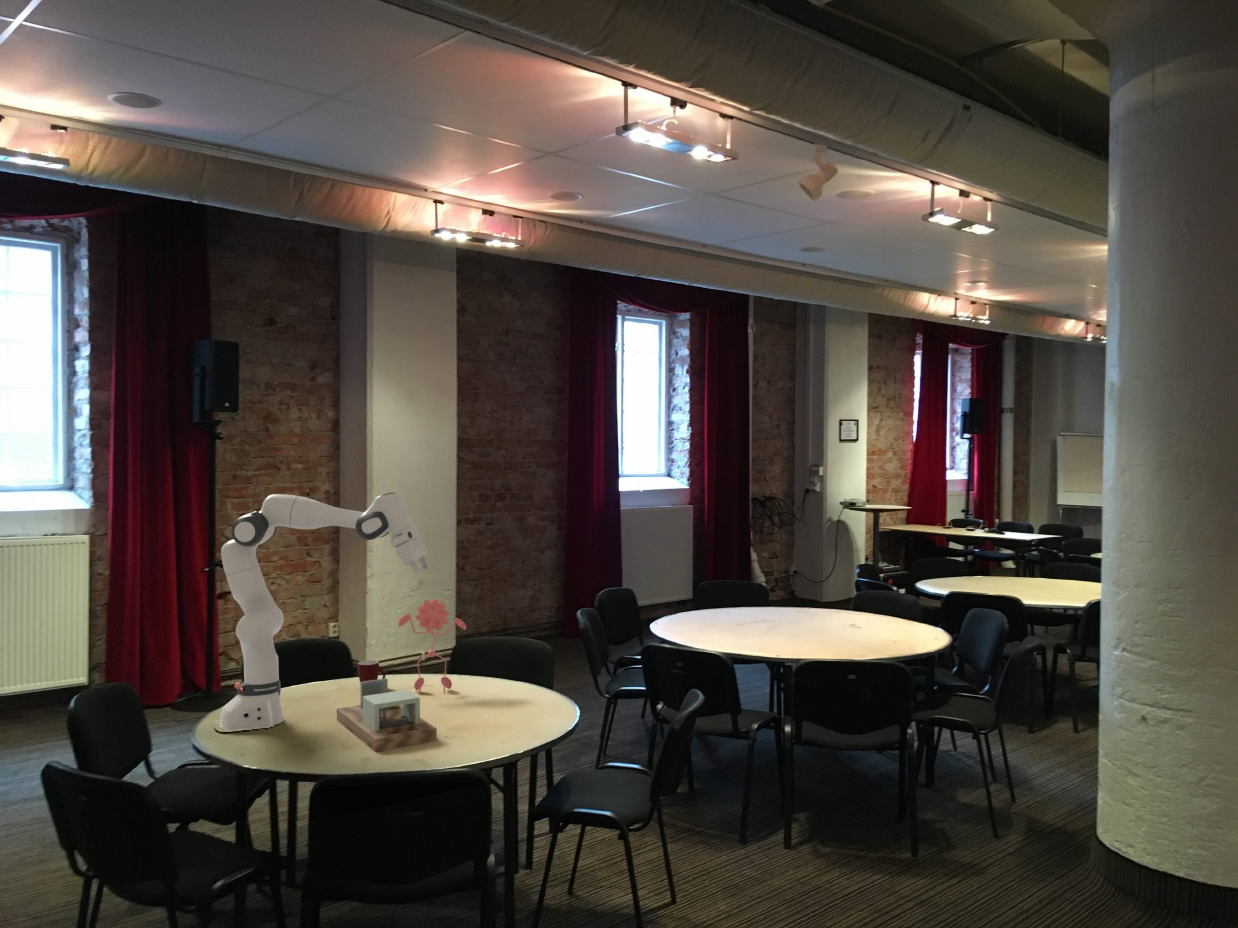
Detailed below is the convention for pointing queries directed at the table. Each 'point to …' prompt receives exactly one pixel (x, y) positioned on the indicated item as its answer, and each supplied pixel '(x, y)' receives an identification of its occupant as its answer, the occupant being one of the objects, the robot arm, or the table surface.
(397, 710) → the maple block
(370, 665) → the mug
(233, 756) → the table surface
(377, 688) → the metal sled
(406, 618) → the pink flower toy
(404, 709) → the tunnel
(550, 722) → the table surface
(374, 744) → the walnut deck
